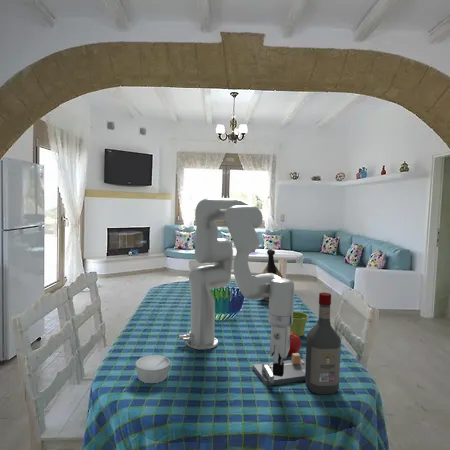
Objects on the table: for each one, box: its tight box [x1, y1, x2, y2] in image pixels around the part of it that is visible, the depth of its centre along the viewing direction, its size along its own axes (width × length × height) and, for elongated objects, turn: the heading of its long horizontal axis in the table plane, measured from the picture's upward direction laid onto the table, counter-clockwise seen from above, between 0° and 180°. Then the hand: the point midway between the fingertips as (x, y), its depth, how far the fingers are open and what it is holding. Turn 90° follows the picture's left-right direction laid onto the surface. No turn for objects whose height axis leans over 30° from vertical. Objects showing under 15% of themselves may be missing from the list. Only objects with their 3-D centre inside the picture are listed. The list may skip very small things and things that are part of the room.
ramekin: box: [135, 354, 171, 384], centre depth 123 cm, size 11×11×5 cm
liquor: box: [304, 292, 342, 395], centre depth 117 cm, size 9×9×30 cm
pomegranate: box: [287, 332, 302, 356], centre depth 144 cm, size 10×10×9 cm
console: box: [252, 357, 306, 387], centre depth 127 cm, size 20×12×2 cm, turn 107°
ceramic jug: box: [261, 248, 284, 302], centre depth 216 cm, size 17×15×30 cm
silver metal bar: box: [262, 362, 274, 383], centre depth 121 cm, size 9×2×2 cm, turn 9°
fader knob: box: [291, 352, 302, 364], centre depth 131 cm, size 2×2×3 cm
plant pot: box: [290, 311, 309, 338], centre depth 163 cm, size 9×9×9 cm
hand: (278, 374), depth 118 cm, fingers closed
